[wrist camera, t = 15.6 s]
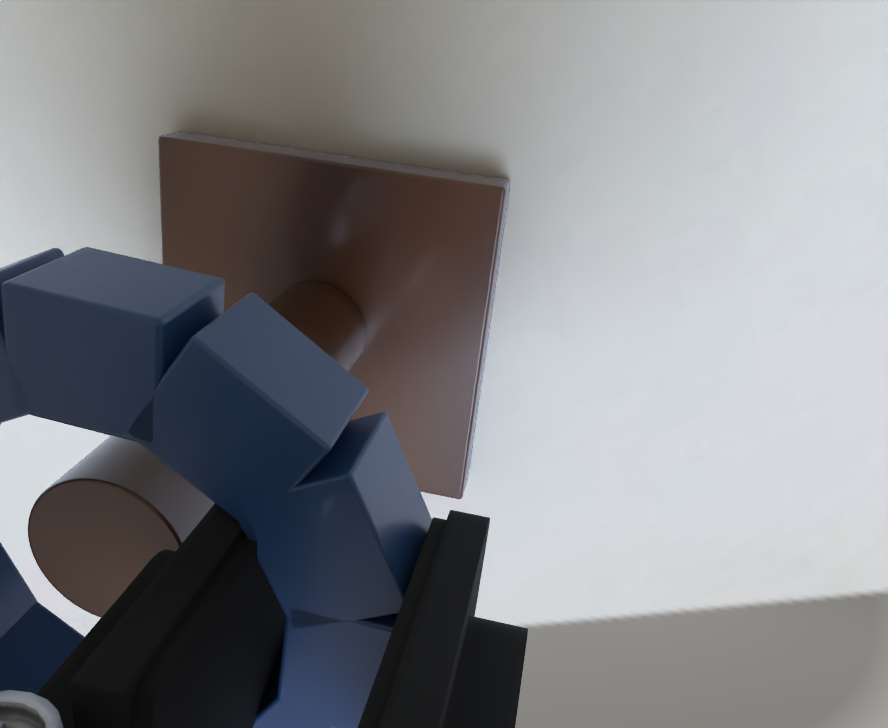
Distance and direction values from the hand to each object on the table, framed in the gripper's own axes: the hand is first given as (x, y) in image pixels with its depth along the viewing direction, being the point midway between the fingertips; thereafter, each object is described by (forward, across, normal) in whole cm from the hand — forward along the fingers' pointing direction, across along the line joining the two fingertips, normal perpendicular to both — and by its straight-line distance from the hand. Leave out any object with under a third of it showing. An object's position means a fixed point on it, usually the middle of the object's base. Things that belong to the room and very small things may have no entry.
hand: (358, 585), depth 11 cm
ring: (0, +3, 0) cm, 3 cm away
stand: (+10, +4, 0) cm, 10 cm away
